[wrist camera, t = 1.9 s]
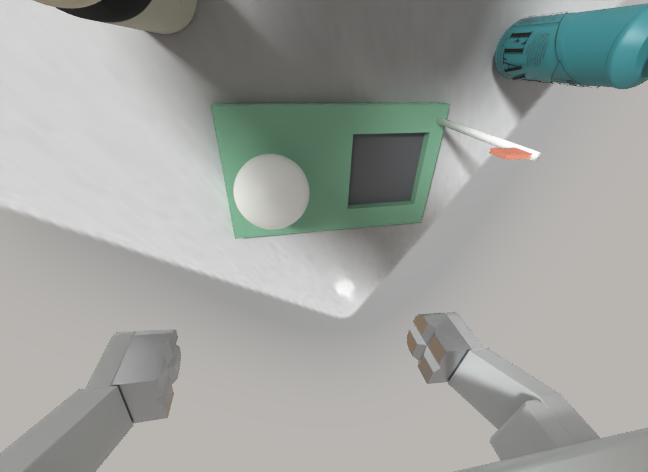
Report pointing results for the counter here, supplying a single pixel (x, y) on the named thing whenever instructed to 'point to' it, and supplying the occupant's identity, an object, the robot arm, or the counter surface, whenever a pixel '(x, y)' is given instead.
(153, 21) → the travel mug
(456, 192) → the counter surface
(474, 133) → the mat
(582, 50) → the beverage bottle
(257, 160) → the ball
